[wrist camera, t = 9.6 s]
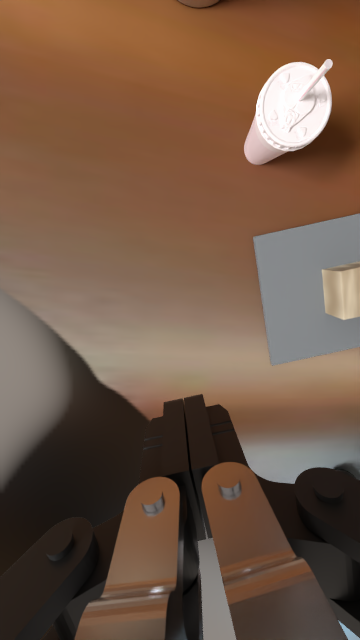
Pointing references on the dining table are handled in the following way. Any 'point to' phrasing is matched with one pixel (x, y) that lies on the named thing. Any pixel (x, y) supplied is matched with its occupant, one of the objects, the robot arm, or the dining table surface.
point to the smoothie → (289, 111)
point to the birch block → (342, 290)
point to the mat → (305, 288)
